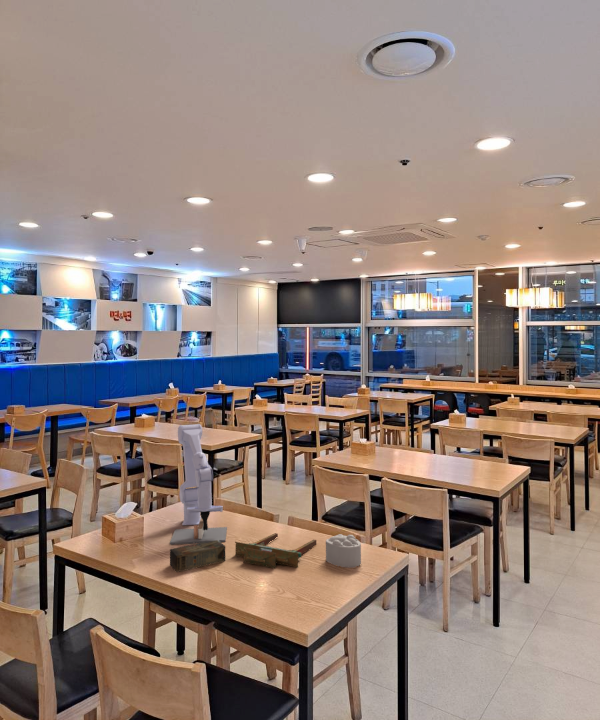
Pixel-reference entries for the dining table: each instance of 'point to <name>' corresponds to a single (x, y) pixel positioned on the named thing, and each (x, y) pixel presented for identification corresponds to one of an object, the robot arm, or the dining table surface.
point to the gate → (201, 528)
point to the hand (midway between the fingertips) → (205, 529)
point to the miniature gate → (270, 553)
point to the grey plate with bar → (193, 535)
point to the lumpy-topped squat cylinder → (343, 551)
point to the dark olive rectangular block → (197, 555)
